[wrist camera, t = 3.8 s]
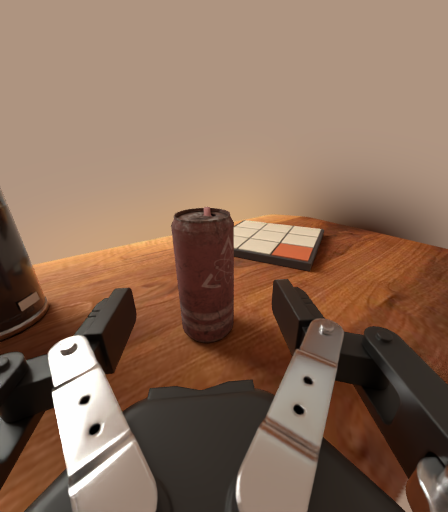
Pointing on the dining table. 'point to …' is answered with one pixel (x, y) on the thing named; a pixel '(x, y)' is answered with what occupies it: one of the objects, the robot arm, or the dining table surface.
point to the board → (277, 244)
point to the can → (205, 271)
